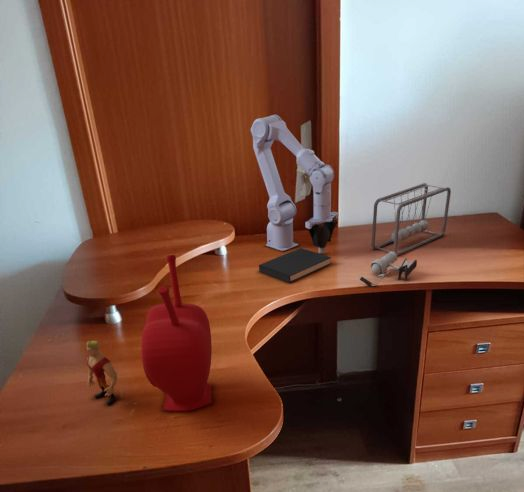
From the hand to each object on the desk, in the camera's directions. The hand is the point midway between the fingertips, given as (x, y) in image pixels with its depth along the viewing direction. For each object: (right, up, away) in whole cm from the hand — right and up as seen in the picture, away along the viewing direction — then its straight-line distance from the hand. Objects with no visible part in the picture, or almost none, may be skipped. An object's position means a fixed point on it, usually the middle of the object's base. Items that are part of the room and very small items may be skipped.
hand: (321, 243), depth 176 cm
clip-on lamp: (+18, -15, -18) cm, 29 cm away
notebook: (-10, -10, -7) cm, 16 cm away
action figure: (-55, -48, -64) cm, 97 cm away
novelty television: (-37, -48, -65) cm, 88 cm away
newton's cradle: (+32, +2, +7) cm, 33 cm away
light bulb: (0, -3, +2) cm, 4 cm away
